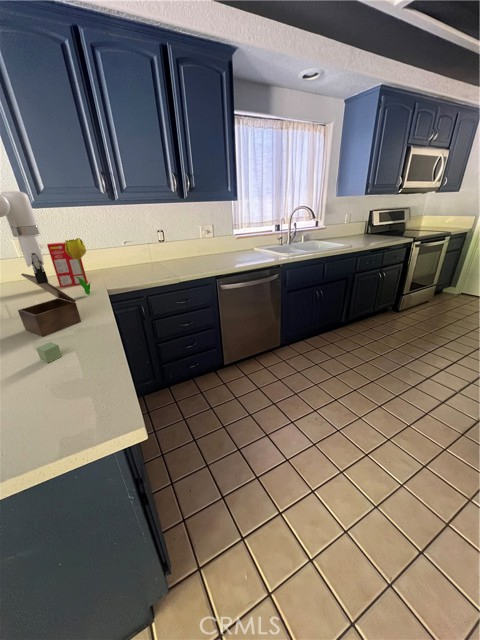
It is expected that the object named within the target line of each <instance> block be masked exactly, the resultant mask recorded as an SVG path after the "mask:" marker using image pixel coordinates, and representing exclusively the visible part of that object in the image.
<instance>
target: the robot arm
mask: <svg viewBox="0 0 480 640" xmlns="http://www.w3.org/2000/svg"><path fill="white" fill-rule="evenodd" d="M3 217H6V220H7V223H8V225H9V228H10V230H11V234H12V237H13V238H17V240H18V243H19V246H20V249H21V253H22V255H23V258H24V261H25V264H26V266H27V267H28V268H30V267H32V271H33V274H34V276H35V277H36V280H37V283H38V284H42V283H49V279H48V276H47V273H46V271H45V268H44V264H45V261H44V256H43V253H42V248H41V246H40V243H39V239H38V237H39V236H41V232H40V229H39V226H38V223H37V220H36V216H35V213H34V210H33V206H32V203H31V201H30V198H29V195H28V194H27V193H26V192H24V191H16V190H13V191H8V190H7V191H0V218H3Z"/></svg>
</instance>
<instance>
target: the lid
mask: <svg viewBox="0 0 480 640" xmlns="http://www.w3.org/2000/svg"><path fill="white" fill-rule="evenodd" d="M20 276H22V277H24V278H25V279H27V280H28V281H30V282H31V283H33V284H35V285H36V286H38V287H40V288H41V289H43V290H44V291H46V292H48V293H49V294H51V295H52V296H54V297H56V299H57V298H60V299H64V300H68V301H72V302H75V303H76V302H77V300H75V298H73V297H71V296H70V295H68V294H66V293H65V292H63V291H62V290H60V289H58V288H57V287H56V286H54V285H53V284H51V283H50V282H48V283H42V284H38V283H37V280H36V277H35V275H31V274H27V273H21V274H20Z"/></svg>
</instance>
